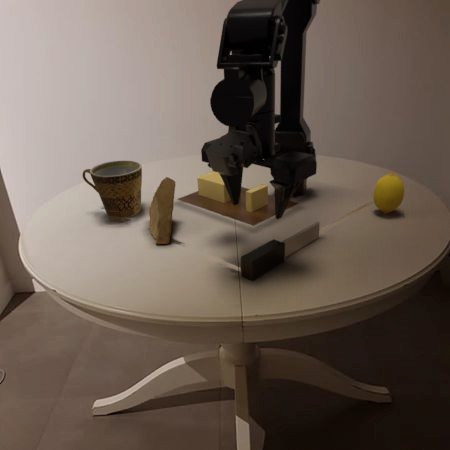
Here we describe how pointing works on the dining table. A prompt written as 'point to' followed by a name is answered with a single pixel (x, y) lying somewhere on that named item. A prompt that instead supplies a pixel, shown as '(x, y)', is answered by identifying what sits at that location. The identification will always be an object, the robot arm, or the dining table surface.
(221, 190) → the butter stick
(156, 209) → the rock
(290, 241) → the knife
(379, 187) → the lemon
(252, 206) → the butter slice
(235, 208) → the butter board
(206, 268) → the dining table surface
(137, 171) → the ceramic cup
